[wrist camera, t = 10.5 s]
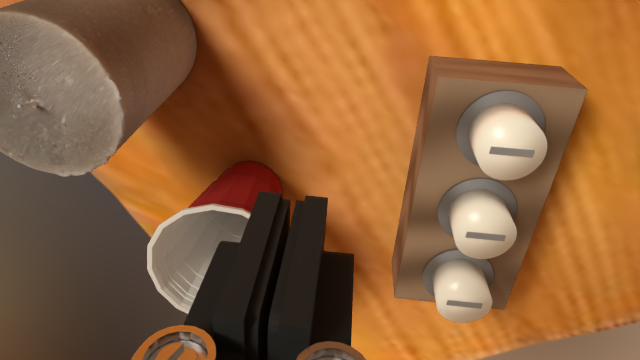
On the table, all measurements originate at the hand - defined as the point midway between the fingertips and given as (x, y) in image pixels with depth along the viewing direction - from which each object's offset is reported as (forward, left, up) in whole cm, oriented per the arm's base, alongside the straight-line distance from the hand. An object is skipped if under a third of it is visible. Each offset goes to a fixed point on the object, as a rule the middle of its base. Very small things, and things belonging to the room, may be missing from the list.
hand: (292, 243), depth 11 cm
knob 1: (+20, +12, -22) cm, 32 cm away
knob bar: (+13, +12, -27) cm, 32 cm away
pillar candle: (+3, -16, -27) cm, 32 cm away
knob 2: (+6, +12, -22) cm, 26 cm away
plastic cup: (+16, -7, -27) cm, 32 cm away
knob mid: (+13, +12, -22) cm, 28 cm away
